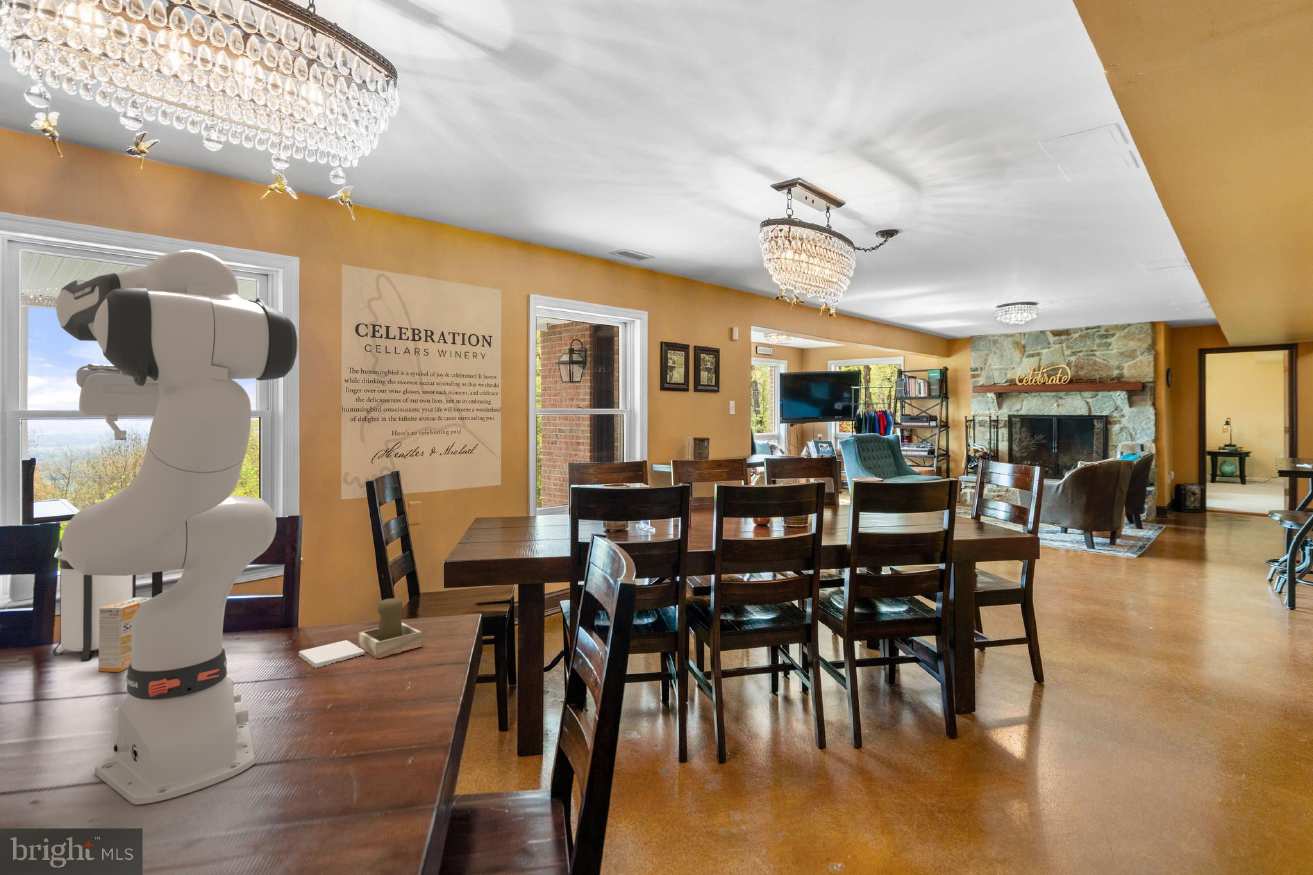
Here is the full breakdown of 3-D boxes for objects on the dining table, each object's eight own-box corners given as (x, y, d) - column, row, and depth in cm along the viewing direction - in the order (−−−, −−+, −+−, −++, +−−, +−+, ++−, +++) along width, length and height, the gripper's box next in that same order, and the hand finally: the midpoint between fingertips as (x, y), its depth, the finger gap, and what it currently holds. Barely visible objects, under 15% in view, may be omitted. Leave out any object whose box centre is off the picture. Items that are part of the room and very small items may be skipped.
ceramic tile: (364, 655, 133) (364, 650, 133) (315, 668, 125) (315, 663, 125) (346, 644, 140) (346, 639, 140) (298, 655, 132) (298, 651, 132)
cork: (409, 643, 141) (409, 596, 141) (395, 652, 135) (396, 603, 135) (384, 642, 141) (385, 595, 141) (369, 651, 135) (370, 602, 135)
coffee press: (131, 656, 130) (132, 518, 130) (34, 666, 124) (35, 521, 124) (163, 631, 146) (164, 508, 146) (78, 639, 140) (79, 510, 140)
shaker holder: (421, 647, 138) (422, 631, 138) (377, 659, 131) (377, 643, 131) (401, 636, 145) (401, 622, 145) (358, 647, 138) (358, 632, 138)
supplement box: (120, 672, 122) (121, 607, 122) (97, 672, 122) (97, 607, 122) (155, 657, 130) (155, 596, 130) (133, 656, 130) (134, 596, 130)
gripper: (78, 361, 105) (80, 440, 105) (219, 369, 120) (221, 438, 120) (73, 364, 109) (75, 440, 109) (211, 371, 124) (212, 438, 124)
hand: (153, 439), depth 115 cm, fingers open, 8 cm apart
